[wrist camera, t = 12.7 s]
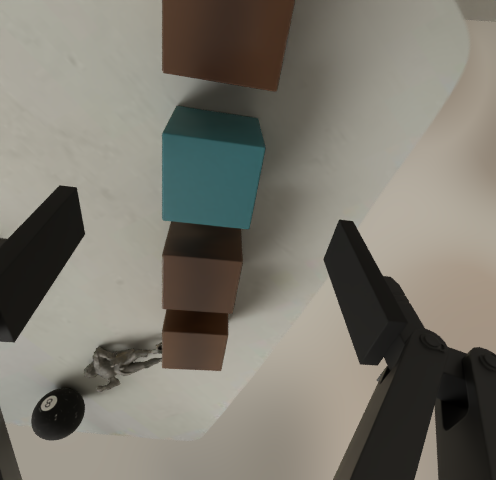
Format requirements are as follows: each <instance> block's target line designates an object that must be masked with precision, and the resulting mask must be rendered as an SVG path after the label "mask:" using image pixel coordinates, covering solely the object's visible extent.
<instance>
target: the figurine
mask: <svg viewBox="0 0 496 480" xmlns="http://www.w3.org/2000/svg"><path fill="white" fill-rule="evenodd" d="M161 344H162V342H161V343H160V344H158V345H156V346H157V348H156V349H154V350H148V351H147V350H137V351H136V350H134V348H133V349H128V350H125V351H120V353H119V351H115V352H113V353H111V352H108V351H107V350H103V349H102V348H99V347H98V348H96V351H95V352H94V355H93V359H94V362H93V363H91V364H89V365H88V366H87V367H86V368H85V370H84V376H85V377H88V378H90V377H96V376H97V375H100V376H101V377H102V378H104V379H106V380H107V381H108V382H109V380H110V383H109V384H107V385H105V386H98V387H97V391H98V392H102V391H103V390H106V389H111V388H112V387H115V386H118V385H119V384H120V382H119V380H118V379H117V378H115V377H114V376H115V375H117V374H119V375H122V376H126V375H130V374H132V373H134V372H137V371H139V370H141V369H144V368H149V367H150V366H152V365H154V364H157V363H158V362H160V361H161V362H162V358H152V359H150V360H148V361H145V362H135V363H133V361H135V360H136V359H137V358H138V357H147V355H148V353H154V354H156V353H161V354H162V345H161ZM116 352H117V353H116ZM115 354H117V356H115Z"/></svg>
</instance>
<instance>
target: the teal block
mask: <svg viewBox="0 0 496 480" xmlns="http://www.w3.org/2000/svg"><path fill="white" fill-rule="evenodd" d="M265 149H266V148H265V144H264V140H263V136H262V132H261V128H260V124H259V120H258V118H253V117H247V116H240V115H234V114H227V113H221V112H214V111H208V110H201V109H195V108H189V107H182V106H176V108H175V110H174V112H173V114H172V116H171V118H170V120H169V122H168V123H167V125H166V127H165V129H164V131H163V133H162V219H163V220H164V221H174V222H183V223H193V224H202V225H212V226H221V227H230V228H240V229H249V228H250V224H251V219H252V214H253V209H254V204H255V199H256V194H257V189H258V184H259V179H260V174H261V169H262V164H263V159H264V154H265Z"/></svg>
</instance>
